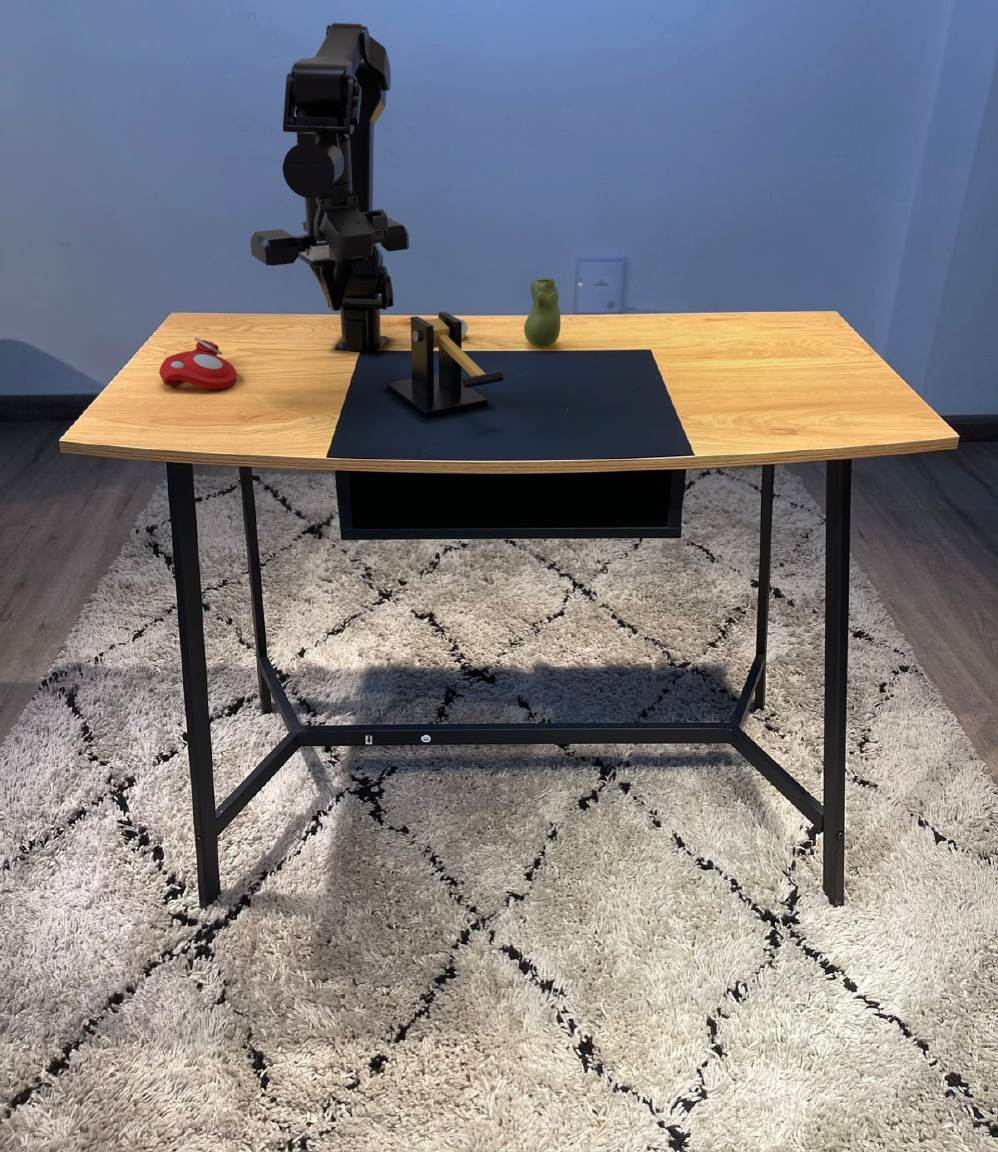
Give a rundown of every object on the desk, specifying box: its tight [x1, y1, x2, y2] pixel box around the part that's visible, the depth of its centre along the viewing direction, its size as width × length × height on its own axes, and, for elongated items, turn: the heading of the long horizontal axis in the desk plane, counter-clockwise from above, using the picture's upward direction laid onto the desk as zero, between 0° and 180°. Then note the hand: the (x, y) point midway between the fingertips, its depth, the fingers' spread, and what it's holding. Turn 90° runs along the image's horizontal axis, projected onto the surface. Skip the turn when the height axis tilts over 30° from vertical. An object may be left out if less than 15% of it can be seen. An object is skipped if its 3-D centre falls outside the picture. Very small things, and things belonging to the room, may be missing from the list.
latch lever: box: [424, 317, 504, 388], centre depth 126 cm, size 14×5×2 cm, turn 31°
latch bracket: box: [386, 311, 488, 420], centre depth 131 cm, size 11×9×11 cm
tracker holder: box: [158, 336, 237, 390], centre depth 137 cm, size 12×4×10 cm
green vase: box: [523, 277, 562, 348], centre depth 150 cm, size 6×5×10 cm
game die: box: [456, 317, 469, 341], centre depth 153 cm, size 4×4×3 cm
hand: (335, 310), depth 129 cm, fingers closed
